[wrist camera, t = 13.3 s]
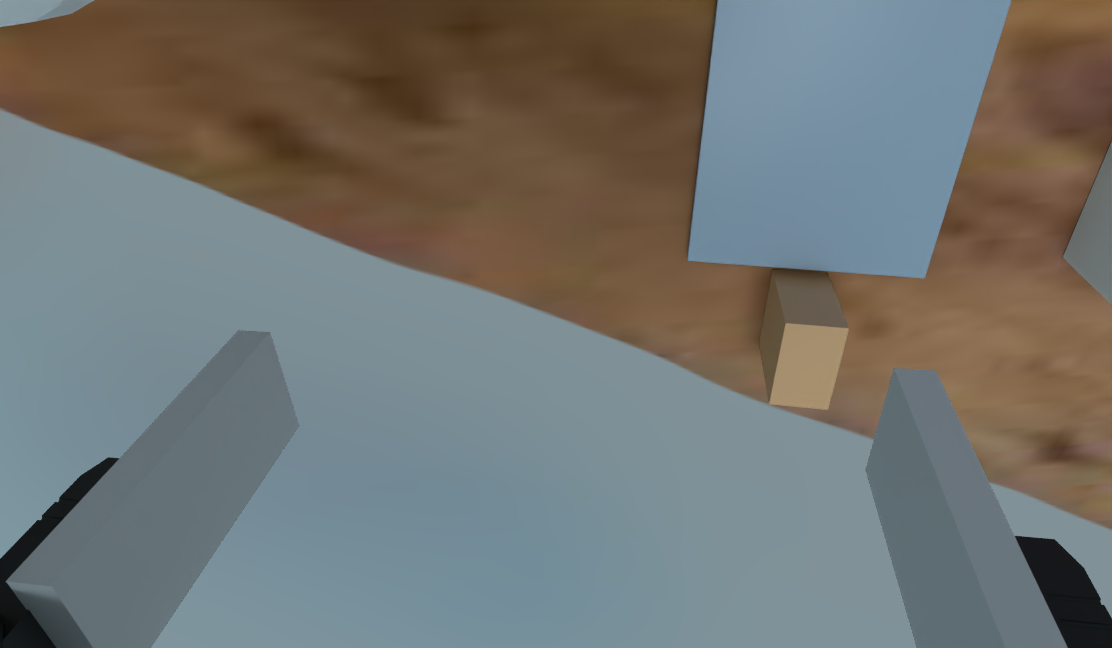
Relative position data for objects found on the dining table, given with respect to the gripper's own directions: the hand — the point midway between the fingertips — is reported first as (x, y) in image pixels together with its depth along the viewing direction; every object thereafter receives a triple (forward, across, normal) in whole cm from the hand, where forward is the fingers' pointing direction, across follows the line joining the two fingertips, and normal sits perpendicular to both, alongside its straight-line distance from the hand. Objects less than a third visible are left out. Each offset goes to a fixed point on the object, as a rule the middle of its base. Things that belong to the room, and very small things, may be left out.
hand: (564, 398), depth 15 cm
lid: (+25, +10, -4) cm, 27 cm away
